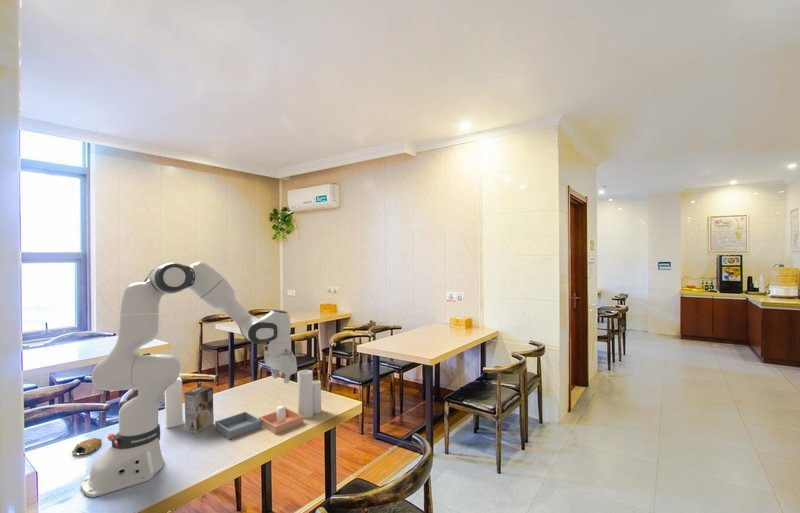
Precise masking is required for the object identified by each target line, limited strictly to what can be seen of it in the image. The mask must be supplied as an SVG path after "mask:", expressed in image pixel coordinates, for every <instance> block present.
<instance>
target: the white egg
mask: <svg viewBox="0 0 800 513" xmlns="http://www.w3.org/2000/svg"><path fill="white" fill-rule="evenodd" d="M285 408H286V406H285V405H279V406H277V407H276V411H277V425H279V424H282V423H285V422H286V409H285Z"/></svg>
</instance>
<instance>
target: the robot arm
mask: <svg viewBox="0 0 800 513" xmlns="http://www.w3.org/2000/svg"><path fill="white" fill-rule="evenodd" d="M186 289H189V290H190V291H192V292H194V293H195V294H196V295H197V296H198V297H199V299H201V300H202V301H204V302H205V303H206V304H208V305H209V306H210V307H212V308H214V309H217V310H221V311H222V312H223V313H225V314H226V315H228V316H229V318H230V319H232V320H233V321H234V322H235V323H236V324H237V326H238V328H239V330H240V333H241V335H242V336H243V337H244V338H245V339H247V340H249V342H251V343H252V344H255V345H262V344H263V351H264V354H263V355H264V357H263V358H264V364H265V366H266V367H268V368H269V369H270V372H271V374H272V379H277V378H279V373H278V372H277V371H279V372H281V373H284V378H283V383H285V384H289V383H290V378H291V376H292V375H294V374H296V373H298V364H297V357H296V355H295V354H294V352H293V350H292V339H291V330H292V329H291V328H292V324H291V317H290V314H289V313H288V312H287V311H285V310H282V309H281V310H280V309H272V310H270V311H269V312H268V313H266V315H264V316H262V317H259V316H257V315H253V314H251V313H250V312H249V311H247V309H245V308H244V307H243V306H242V305H241V304H240V303H239V301H238V300H237V299H236V296H235V290H234V289H233V287H232V285H231V284H230V282H229V281H227V280H226V278H225V277H224V276H223V275H221V273H219V272H218V271H217V270H216V269H215V268H213V267H212V266H211V265H209V264H207V263H205V262H202V261H197V262H194V263H192V264H190V265H189V266H188V265H185V264H181V263H177V262H168V263H163V264H160V265H158V266H156V267H155V268H154V269H152V270H151V271H150V272H149V274H148V275H147V277H146V279H145V280H144V281H138V282H134V283H131V284H129V285H127V286H126V287H125V289H124V291H123V295H122V299H121V304H120V316H119V329H118V336H117V337H118V338H117V340H116V343H115V344H114V347H113V348H112V350H110V353H108V355H106V356H105V357H104V358H103V359H102V360H99V362H97V364H96V365H95V366H94V368H93V369H92V372H91V375H90V376H91V382H92V384H93V386H94V388H96V389H97V390H101V391H108V392H109V391H110V392H111V391H112V392H114V391H116V392H117V391H118V392H119V391H126V390H127V391H129V390H137V391H138V392H137V394H138V395H137V396H134V397H132V398H131V399H129V400H128V401H126V402H125V403H124V404H122V405H121V407H120V409H119V411H118V432H117V433H116V434H115V433H113V432H111V433H109V434H108V435H107V439H108V441H109V442H111V446H110V447H109V448H108V449H106V451H104V452H103V453H102V454H101V455H100V456H99V457H98V458H96V459H95V460H94V461H93V463H92V465H91V468H90V472H89V475H87V476H85V477H84V478H83V479H82V481H81V484H80V489H81V492H82V493H83V495H84V496H87V497H90V498H95V497H99V496H103V495H106V494H109V493H111V492H115V491H118V490H122V489H126V488H130V487H131V486H135V485H139V484H142V483H145V482H147V481H148V482H149V481H150V480H152V479H153V477H154V476H155V474H156V473H158V472H159V471H160V470H162V468H163V467H164V466H165V460H164V457H163V454H162V450H161V443H160V440H161V425H160V423H159V407H160V402H161V399H162V396H164V395H163V394H165V390H166V389H167V388H168V387H169V386H170V385H171V384H173V383H174V382H175V381H176V380H177V379H178V377H180V375H181V371H182V364H181V361H180V359H179V358H178V357H177V356H176V355H173V354H166V353H165V354H163V353H157V354H143V355H142V354H141V355H139V353H140V349H141V348H142V347H143V346H146V345H148V344H149V343H151V342H153V340H155V339H156V338H157V336H158V335H159V322H160V314H159V313H160V301H161V299H162V297H163V296H165V295H173V294H176V293H179V292H182V291H184V290H186Z"/></svg>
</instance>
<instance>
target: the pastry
mask: <svg viewBox="0 0 800 513" xmlns="http://www.w3.org/2000/svg"><path fill="white" fill-rule="evenodd" d="M100 444H101V445H102V439H101V438H97V437H95V438H93V437H92V438H89V439H87V440H83V441H80V442H79V443H78V444H76V445H75V447H74V449H73V450H71V451H72V452H71V454H72V455H74V453H75V454H77V453H79V454H81V453H82V454H84V455H88V454H87V453H89V454H91V453H93V452H94V451H95V449H96V448H97V449H99V448H100V446H101V445H100ZM97 449H96V450H97ZM92 451H93V452H92ZM90 452H91V453H90Z"/></svg>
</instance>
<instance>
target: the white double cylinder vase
mask: <svg viewBox="0 0 800 513" xmlns="http://www.w3.org/2000/svg"><path fill="white" fill-rule="evenodd" d="M313 374H314V372H313V370H312V369H303V370H299V371H298V370H297V413H298V414H300V415H302V416H303V420H305V419H309V418H312V417H313V415H314V413H316V414H319V413H321V412H322V381H321V380H314V379H313V378H314V377H313Z"/></svg>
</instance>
